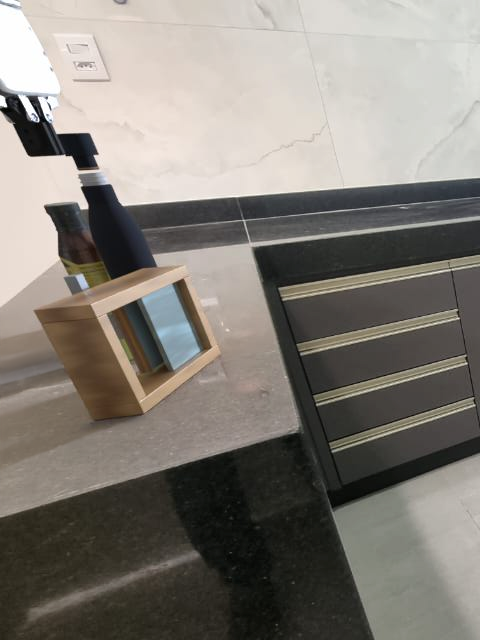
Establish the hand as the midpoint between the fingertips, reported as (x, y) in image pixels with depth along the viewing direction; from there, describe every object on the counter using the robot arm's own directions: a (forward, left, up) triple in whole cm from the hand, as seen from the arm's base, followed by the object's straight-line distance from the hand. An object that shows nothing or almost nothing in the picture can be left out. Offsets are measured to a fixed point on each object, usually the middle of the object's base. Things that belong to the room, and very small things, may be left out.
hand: (47, 155), depth 70 cm
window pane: (+10, -15, -25) cm, 31 cm away
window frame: (+13, -18, -27) cm, 35 cm away
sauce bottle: (-13, +18, -27) cm, 35 cm away
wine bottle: (-6, +16, -27) cm, 32 cm away
